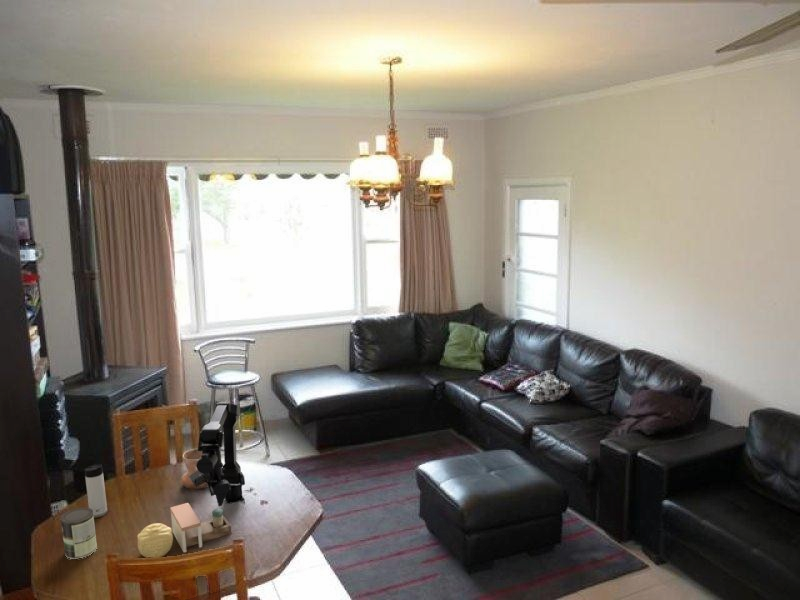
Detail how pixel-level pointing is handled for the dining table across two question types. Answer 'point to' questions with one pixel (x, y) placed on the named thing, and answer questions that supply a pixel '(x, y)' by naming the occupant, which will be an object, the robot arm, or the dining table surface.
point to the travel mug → (96, 490)
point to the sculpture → (155, 540)
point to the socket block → (207, 532)
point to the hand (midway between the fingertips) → (216, 500)
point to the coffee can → (78, 533)
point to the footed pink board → (184, 523)
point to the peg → (217, 518)
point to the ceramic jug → (191, 467)
